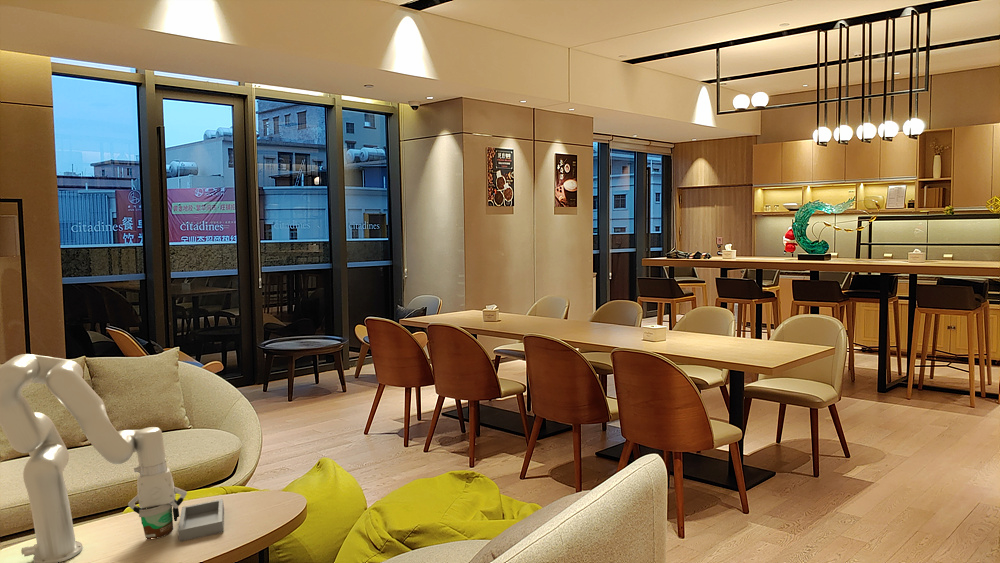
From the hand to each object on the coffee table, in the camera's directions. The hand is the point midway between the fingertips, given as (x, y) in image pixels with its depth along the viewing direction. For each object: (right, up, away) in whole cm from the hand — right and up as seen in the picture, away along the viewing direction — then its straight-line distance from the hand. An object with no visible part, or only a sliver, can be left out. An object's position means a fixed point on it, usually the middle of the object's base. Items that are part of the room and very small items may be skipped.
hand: (161, 522), depth 227 cm
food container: (+1, -4, +1) cm, 4 cm away
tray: (+11, -2, +4) cm, 12 cm away
